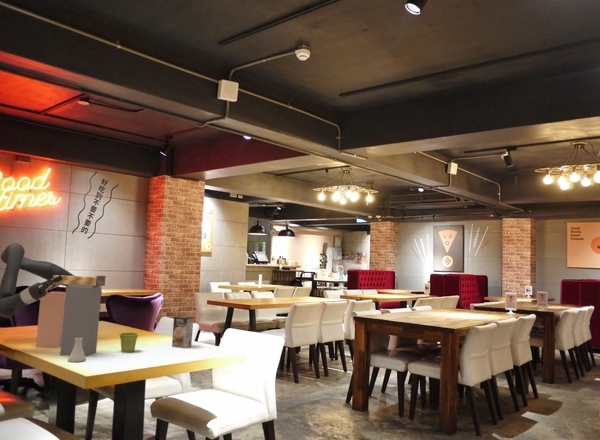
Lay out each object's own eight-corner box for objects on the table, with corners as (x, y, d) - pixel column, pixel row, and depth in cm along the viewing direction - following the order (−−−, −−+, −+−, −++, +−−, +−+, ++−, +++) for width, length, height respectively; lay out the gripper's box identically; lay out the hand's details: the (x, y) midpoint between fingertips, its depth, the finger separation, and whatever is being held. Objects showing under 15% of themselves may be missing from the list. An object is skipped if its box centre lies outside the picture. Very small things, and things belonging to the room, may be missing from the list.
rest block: (36, 346, 247) (41, 292, 250) (47, 343, 257) (52, 291, 260) (58, 347, 246) (63, 293, 249) (69, 344, 256) (73, 292, 259)
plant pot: (135, 353, 241) (137, 335, 242) (116, 352, 240) (117, 335, 240) (139, 349, 250) (140, 332, 251) (119, 349, 249) (121, 332, 250)
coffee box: (171, 346, 264) (173, 316, 265) (178, 345, 270) (180, 315, 271) (184, 348, 260) (186, 318, 262) (192, 346, 266) (194, 317, 267)
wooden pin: (51, 283, 235) (52, 273, 235) (57, 283, 240) (58, 273, 241) (99, 286, 233) (100, 276, 234) (104, 285, 238) (105, 275, 239)
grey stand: (60, 355, 228) (66, 283, 232) (72, 351, 239) (78, 283, 242) (84, 356, 228) (90, 285, 231) (96, 352, 238) (101, 284, 242)
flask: (78, 363, 213) (80, 339, 214) (64, 361, 214) (66, 338, 215) (89, 360, 220) (90, 337, 221) (74, 358, 222) (76, 336, 223)
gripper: (21, 287, 231) (52, 270, 231) (39, 285, 245) (69, 270, 245) (27, 301, 230) (59, 284, 230) (45, 299, 245) (75, 283, 244)
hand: (64, 277), depth 238 cm, fingers closed on wooden pin, 4 cm apart
